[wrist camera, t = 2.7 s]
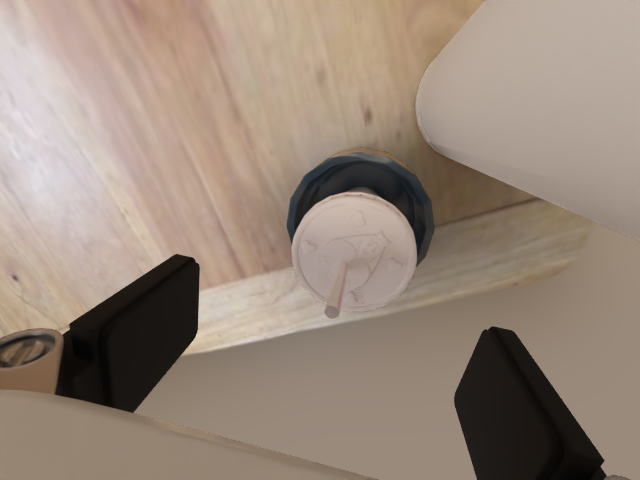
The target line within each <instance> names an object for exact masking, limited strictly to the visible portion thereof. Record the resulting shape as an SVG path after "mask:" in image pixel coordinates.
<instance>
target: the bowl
mask: <svg viewBox="0 0 640 480" xmlns="http://www.w3.org/2000/svg"><path fill="white" fill-rule="evenodd" d="M357 187H365V188H369V189H371V190H373V191H375V192H376V193H377V194H378V195H379V196H380V197H381V198H382V199H384V200H386V201H387V202H389V203H391V204H393V205H394V206H395V207H396V208H397V209H398V210H399V211H400V212H401V213H402V214H403V215H404V216H405V217H406V219H407V221H408V223H409V224H410V226H411V228H412V230H413V232H414V237H415V242H416V247H417V248H416V250H417V263H416V267H417V266H418V265H419V264H420V262H421V261H422V260H423V259H424V258H425V256H426V254H427V251H428V248H429V245H430V242H431V239H432V236H433V233H434V222H433V213H432V204H431V200H430V198H429V197H428V195H427V193H426V192H425V190H424V188H423V187H422V185H421V183H420V182H419V180H418V179H417V177H416V175H415V174H414V173H413V172H412V171H411V169H410V168H409V167H408V166H407V165H405V164H404V163H403V162H401V161H400V160H398V159H397V158H395V157H394V156H392V155H391V154H389V153H388V152H385V151H380V150H374V149H369V148H364V147H362V148H361V147H360V148H356V149H351V150H347V151H342V152H338V153H336V154H334V155H333V156H331V157H330V158H328V159H327V160H326V161H324V162H323V163H321V164H320V165H319V166H317V167H316V168H314V169H313V170H312V171H310V172H309V173H307V174H306V175H305V176H304V177H303V179H302V181H301V182H300V184H299V186H298V187H297V189H296V191H295V192H294V194H293V196H292V197H291V200H290V204H289V212H288V219H287V230H288V233H289V237H290V241H291V245H292V242H293V238H294V235H295V232H296V230H297V228H298V226H299V224H300V223H301V221H302V219H303V217H304V215H305V214H306V213H307V212H308V211H309V210H310V209H311V208H312V207H313V206H314V205H315V204H317V203H319V202H320V201H322V200H324V199H326V198H327V197H329V196H332V195H336V194H340V193H344V192H347V191H349V190H351V189H353V188H357Z"/></svg>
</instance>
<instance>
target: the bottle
mask: <svg viewBox="0 0 640 480" xmlns="http://www.w3.org/2000/svg"><path fill="white" fill-rule="evenodd" d="M415 112H416V120H417V126H418V128H419V130H420V132H421V134H422V136H423V138H424V140H425V141H426V142H427V143H428V144H429V145H430V146H431V147H432V148H433V149H434V150H435V151H436V152H437V153H439V154H441V155H443V156H445V157H447V158H449V159H452V160H454V161H456V162H458V163H461V164H463V165H465V166H468V167H470V168H472V169H474V170H477V171H479V172H481V173H484V174H486V175H488V176H490V177H493V178H495V179H497V180H500V181H502V182H504V183H506V184H509V185H511V186H513V187H516V188H518V189H520V190H522V191H525V192H527V193H529V194H532V195H534V196H536V197H538V198H541V199H543V200H545V201H548V202H550V203H552V204H554V205H557V206H559V207H561V208H564V209H566V210H568V211H570V212H573V213H575V214H577V215H579V216H582V217H584V218H586V219H589V220H591V221H593V222H595V223H598V224H600V225H602V226H605V227H607V228H609V229H612V230H614V231H616V232H618V233H621V234H623V235H625V236H628V237H630V238H632V239H635V240H637V241H639V242H640V0H485V1H484V2H483V3H482V4H481V6H480V7H479V8H478V9H477V10H476V11H475V13H474V14H473V15H472V16H471V17H470V18H469V19H468V21H467V22H466V23H465V24H464V25H463V26H462V28H461V29H460V30H459V31H458V32H457V33H456V34H455V36H454V37H453V38H452V39H451V40H450V41H449V43H448V44H447V45H446V46H445V47H444V48H443V49H442V51H441V52H440V53H439V54H438V55H437V56H436V58H435V59H434V60H433V61H432V62H431V63H430V64H429V66H428V67H427V69H426V71H425V73H424V75H423V77H422V79H421V81H420V83H419V85H418V91H417V96H416V102H415Z"/></svg>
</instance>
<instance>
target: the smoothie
mask: <svg viewBox="0 0 640 480" xmlns="http://www.w3.org/2000/svg"><path fill="white" fill-rule="evenodd" d="M416 248H417V247H416V242H415V237H414V232H413V230H412V228H411V226H410V224H409V223H408V221H407V219H406V217H405V216H404V215H403V214H402V213H401V212H400V211H399V210H398V209H397V208H396V207H395V206H394V205H393V204H391V203H389V202H387V201H386V200H384V199H382V198H381V197H380V196H379V195H378V194H377V193H376V192H375V191H373V190H371V189H369V188H365V187H357V188H353V189H351V190H349V191H347V192H344V193H340V194H336V195H332V196H329V197H327V198H326V199H324V200H322V201H320V202H319V203H317V204H315V205H314V206H313V207H312V208H311V209H310V210H309V211H308V212H307V213H306V214H305V215H304V217H303V219H302V221H301V223H300V224H299V226H298V228H297V230H296V232H295V235H294V238H293V242H292V253H291V254H292V263H293V267H294V270H295V273H296V275H297V277H298V279H299V281H300V282H301V284H302V285H303V287H304V288H305V289H306V290H307V291H308V293H310V294H311V295H312V296H313V297H314V298H315V299H317V300H318V301H320V302H321V303H323V304H325V305H326V309H325V314H326V316H327V317H329V318H337V317H338V316H339V313H340V310H342V311H347V312H366V311H371V310H375V309H378V308H381V307H383V306H385V305H387V304H389V303H391V302H392V301H394V300H395V299H396V298H398V297H399V296H400V295H401V294H402V293H403V292H404V290H405V289H406V288H407V286H408V285H409V283H410V282H411V280H412V277H413V275H414V272H415V269H416V263H417V250H416Z"/></svg>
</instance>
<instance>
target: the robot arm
mask: <svg viewBox="0 0 640 480" xmlns="http://www.w3.org/2000/svg"><path fill="white" fill-rule="evenodd" d="M199 271H200V267H199V264H198V263H196V262H195V259H194V258H192V257H187V256H183V255H179V254H176V255H174V256H172V257H170V258H169V259H167V260H166V261H164V262H163V263H161V264H160V265H158V266H157V267H155V268H154V269H152V270H151V271H149V272H148V273H146V274H145V275H143V276H142V277H140V278H138V279H137V280H135V281H134V282H132V283H131V284H129V285H128V286H126V287H125V288H123V289H122V290H120V291H119V292H117V293H116V294H114V295H113V296H111V297H110V298H108V299H106V300H105V301H103V302H102V303H100V304H99V305H97V306H96V307H94V308H93V309H91V310H90V311H88V312H87V313H85V314H84V315H82V316H81V317H79V318H78V319H76V320H74V321H73V322H71V323H70V324H69V326H70V330H69V331H67V332H66V333H64V334H63V335H62V334H61V333H60V332H59V331H56V330H53V329H46V328H36V329H28V330H23V331H19V332H15V333H12V334H9V335H7V336H4V337H2V338H0V480H377V479H373V478H370V477H366V476H363V475H359V474H356V473H352V472H348V471H345V470H341V469H337V468H334V467H330V466H327V465H323V464H319V463H316V462H312V461H308V460H305V459H301V458H298V457H294V456H291V455H287V454H283V453H279V452H276V451H272V450H269V449H265V448H261V447H258V446H254V445H250V444H247V443H243V442H240V441H236V440H232V439H228V438H224V437H221V436H217V435H214V434H210V433H206V432H202V431H198V430H195V429H191V428H188V427H184V426H180V425H176V424H173V423H169V422H165V421H162V420H158V419H154V418H150V417H146V416H142V415H139V414H135V413H133V412H134V411H135V410H136V409H137V408H138V406H139V405H140V404H141V403H142V401H143V400H144V399H145V398H146V397H147V395H148V394H149V393H150V392H151V391H152V389H153V388H154V387H155V386H156V384H157V383H158V382H159V381H160V380H161V379H162V377H163V376H164V375H165V374H166V372H167V371H168V370H169V369H170V368H171V366H172V365H173V364H174V363H175V362H176V360H177V359H178V358H179V357H180V356H181V354H182V353H183V352H184V351H185V350H186V348H187V347H188V346H189V345H190V344H191V342H192V341H193V340H194V338H195V336H196V334H197V330H198V304H199ZM454 403H455V408H456V411H457V414H458V418H459V421H460V424H461V428H462V431H463V434H464V437H465V441H466V444H467V447H468V451H469V454H470V457H471V461H472V464H473V467H474V471H475V474H476V477H477V480H630V479H628V478H625V477H622V476H616V475H612V476H606V474H605V473H604V471H603V470H602V468H601V467H600V466H601V465H602V463H603V462H604V459H603V458H602V456H601V455H600V453H599V452H598V451H597V449H596V448H595V446H594V445H593V444H592V442H591V441H590V439H589V438H588V436H587V435H586V434H585V432H584V431H583V429H582V428H581V426H580V425H579V424H578V422H577V421H576V419H575V418H574V416H573V415H572V414H571V412H570V411H569V409H568V408H567V406H566V405H565V404H564V402H563V401H562V399H561V398H560V396H559V395H558V394H557V392H556V391H555V389H554V388H553V386H552V385H551V384H550V382H549V381H548V379H547V378H546V377H545V375H544V374H543V372H542V371H541V369H540V368H539V366H538V365H537V364H536V362H535V361H534V359H533V358H532V356H531V355H530V354H529V352H528V351H527V349H526V348H525V346H524V345H523V344H522V342H521V341H520V339H519V338H518V337H517V335H516V334H515V333H514V332H513V331H511V330H507V329H503V328H498V327H491V328H490V329H489V330H484V331H483V332H482V334H481V336H480V338H479V341H478V343H477V345H476V347H475V350H474V352H473V354H472V357H471V358H470V361H469V363H468V365H467V368H466V370H465V372H464V374H463V377H462V379H461V381H460V383H459V386H458V388H457V390H456V393H455V397H454Z"/></svg>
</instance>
